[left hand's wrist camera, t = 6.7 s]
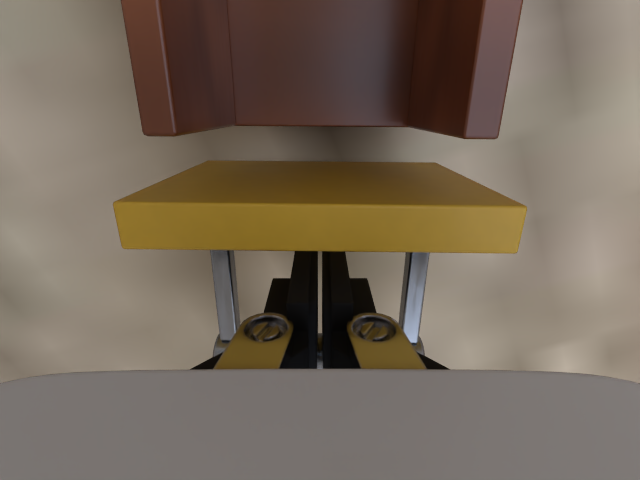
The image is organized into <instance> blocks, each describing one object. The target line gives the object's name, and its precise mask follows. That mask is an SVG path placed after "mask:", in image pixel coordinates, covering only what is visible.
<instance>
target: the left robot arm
mask: <svg viewBox="0 0 640 480" xmlns="http://www.w3.org/2000/svg"><path fill="white" fill-rule="evenodd" d="M322 348H323V369H317V350H318V251H295V255H294V261H293V267H292V273H291V278H273V280H272V284H271V287H270V291H269V295H268V298H267V302H266V306H265V310H264V313H261V314H256V315H254V316H251V317H249V318H247V319H246V320H244V321H243V322H242V323H241V325H240V326H239V327H238V329H237V331H236V332H235V334H234V336H233V337H232V339H231V341H230V342H229V344H228V345H227V347H226V349H225V350H224V352H222V353H220V354H218V355H216V356H214V357H212V358H211V359H209V360H207V361H205V362H203V363H201V364H199V365H197V366H195V367H194V368H192V369H190V370H130V371H99V372H74V373H61V374H49V375H42V376H35V377H28V378H23V379H18V380H13V381H8V382H3V383H0V480H640V383H636V382H632V381H627V380H622V379H617V378H612V377H606V376H598V375H590V374H580V373H565V372H543V371H507V370H450V369H448V368H446V367H445V366H443V365H441V364H439V363H437V362H435V361H433V360H431V359H429V358H428V357H426V356H424V355H422V354H420V353H418V352H416V350H415V349H414V347H413V345H412V344H411V342H410V341H409V339H408V337H407V336H406V334H405V332H404V331H403V329H402V327H401V326H400V325H399V323H398V322H397V321H396V320H394V319H393V318H391V317H389V316H386V315H384V314H379V313H376V309H375V306H374V302H373V298H372V295H371V291H370V287H369V283H368V280H367V278H349V273H348V267H347V261H346V255H345V251H322Z"/></svg>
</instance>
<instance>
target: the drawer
mask: <svg viewBox="0 0 640 480" xmlns="http://www.w3.org/2000/svg"><path fill="white" fill-rule="evenodd" d="M121 4H122V10H123V16H124V22H125V28H126V34H127V40H128V46H129V52H130V58H131V64H132V70H133V76H134V83H135V89H136V95H137V101H138V107H139V113H140V119H141V125H142V131H143V133H144V135H147V136H180V135H185V134H191V133H196V132H202V131H207V130H213V129H218V128H224V127H230V126H333V127H410V128H415V129H420V130H425V131H429V132H434V133H439V134H444V135H448V136H453V137H458V138H463V139H496V138H498V135H499V130H500V125H501V119H502V114H503V108H504V103H505V97H506V92H507V86H508V81H509V75H510V70H511V64H512V59H513V53H514V48H515V42H516V37H517V31H518V26H519V20H520V15H521V9H522V4H523V0H121ZM113 207H114V212H115V217H116V221H117V226H118V231H119V236H120V240H121V245H122V248H123V249H175V250H210V253H211V261H212V270H213V279H214V288H215V297H216V306H217V314H218V323H219V332H220V334H219V335H218V337H217V339H216V342H215V345H214V350H213V357H214V356H216V355H218V354H220V353H222V352H224V350H225V349H226V347H227V345H228V344H229V342H230V341H231V339H232V337H233V336H234V334H235V332H236V331H237V329H238V327H239V326H240V315H239V304H238V292H237V281H236V269H235V258H234V250H262V251H349V252H406V257H405V266H404V276H403V286H402V295H401V305H400V315H399V325H400V326H401V327H402V329H403V331H404V332H405V334H406V336H407V337H408V339H409V341H410V342H411V344H412V345H413V347H414V349H415V350H416V352H418V353H420V354H422V355H424V356H425V353H424V347H423V343H422V341H421V338H420V337H419V330H420V322H421V315H422V307H423V299H424V291H425V284H426V276H427V268H428V260H429V253H430V252H436V253H517V251H518V247H519V242H520V238H521V234H522V229H523V225H524V220H525V216H526V211H527V207H526V206H525V205H523V204H520V203H518V202H516V201H514V200H512V199H510V198H508V197H506V196H504V195H502V194H500V193H498V192H495V191H493V190H491V189H489V188H487V187H485V186H483V185H481V184H479V183H477V182H475V181H473V180H470V179H468V178H466V177H464V176H462V175H460V174H458V173H456V172H454V171H452V170H450V169H448V168H445V167H443V166H441V165H439V164H437V163H415V162H307V161H206V162H204V163H202V164H199V165H197V166H195V167H192V168H190V169H188V170H186V171H183V172H181V173H179V174H177V175H174V176H172V177H170V178H167V179H165V180H163V181H161V182H158V183H156V184H154V185H151V186H149V187H147V188H145V189H142V190H140V191H138V192H136V193H133V194H131V195H129V196H126V197H124V198H122V199H120V200H117V201H115V202H114V203H113ZM317 369H323V348H322V333H318V350H317Z"/></svg>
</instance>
